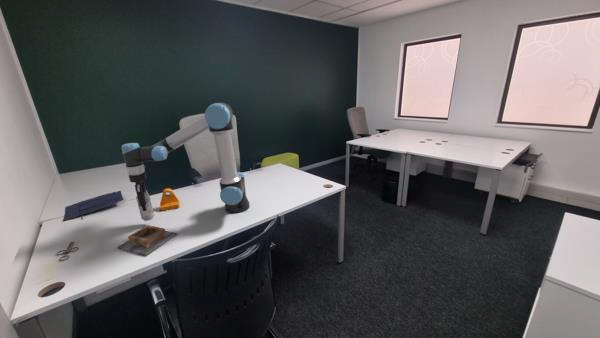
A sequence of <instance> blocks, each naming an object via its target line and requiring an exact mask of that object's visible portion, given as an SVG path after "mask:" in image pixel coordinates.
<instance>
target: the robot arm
mask: <svg viewBox="0 0 600 338" xmlns="http://www.w3.org/2000/svg"><path fill="white" fill-rule="evenodd" d="M233 113H234V111H233V109H232V107H231V106H230V105H229V104H228V103H225V102H223V101H221V102H215V103H212V104H210V105H208V107H207V108H206V109H205V111H204V115H203V116H201V117H199V118H198V119H196V120H195V121H192V122H191V123H189V124H188V125H185V126H184V127H182V128H181V129H179V130H177V131H175V132H174V133H172V134H170V135H169V136H167V137H166V138H164V139H162V140H160V141H158V142H157V143H154V144H153V145H151V146H150V145H149V146H140V144H139V143H138V142H129V143H125V144H122V145H121V151H122V152H121V153H122V156H123V160H124V163H125V168H126V171H127V172H126V173H127V174H128V179H129V181H130V183H135V184H134V188H135V192H136V197H138V201H139V206H141V209H142V213H143V217H144V216H148V215H149V211H148V207H147V204H146V201H145V196H144V192H147V189H146V184H145V181H146V180H147V179H148V178H147V173H146V169H145V168H146V166H145V165H144V163H145V162H162V161H166V160H167V158H168V154H170V153H172V152H173V151H175V150H176V149H178V148H180V147H181V146H183V145H185V144H186V143H188V142H190V141H191V140H193V139H196V137H199V136H201V135H202V134H204V133H205V132H208V131H209V133H211V134H212V135H213V138H214V144H215V150H216V155H217V160H218V166H219V171H220V176H221V178H220V179H219V187H220V193H219V197H220V200H221V202H223V203H224V210H225V211H226V212H228V213H231V214H238V213H243V212H245V211H247V210H249V208H250V201H249V199H248V197H247V194H246V182H245V173H243V172H241V171H238V170H237V163H236V157H235V149H234V145H233V139H232V131H234V125H233V120H232V119H233V116H234V114H233Z"/></svg>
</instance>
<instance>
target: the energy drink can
mask: <svg viewBox="0 0 600 338" xmlns="http://www.w3.org/2000/svg"><path fill="white" fill-rule="evenodd" d="M144 196H145V201H146V204H147V207H148V211H149V215H148V216H144V217H143V213H142V209H141V206H139V201H138V197H137V196H136V197H135V199H136V203H137V206H138V211H139V214H140V218H141V220H143V221H145V222H146V221H151V220H152V219H154V217H155V212H154V209H153V205H152V202H151V196H150V194H149V193H148V191H146V192H144Z"/></svg>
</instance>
